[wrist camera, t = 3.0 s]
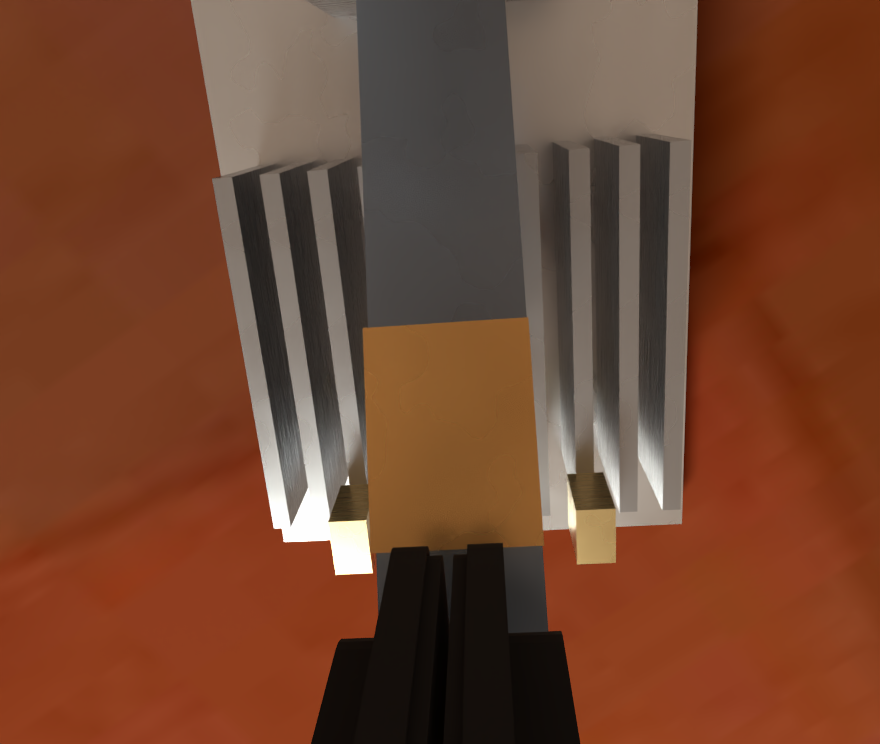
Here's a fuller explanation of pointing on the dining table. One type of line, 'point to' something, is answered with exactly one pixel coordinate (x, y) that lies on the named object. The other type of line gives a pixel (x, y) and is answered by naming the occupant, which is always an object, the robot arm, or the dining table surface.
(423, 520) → the strap
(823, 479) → the dining table surface
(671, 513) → the heatsink base
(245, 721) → the dining table surface
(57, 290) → the dining table surface
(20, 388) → the dining table surface
